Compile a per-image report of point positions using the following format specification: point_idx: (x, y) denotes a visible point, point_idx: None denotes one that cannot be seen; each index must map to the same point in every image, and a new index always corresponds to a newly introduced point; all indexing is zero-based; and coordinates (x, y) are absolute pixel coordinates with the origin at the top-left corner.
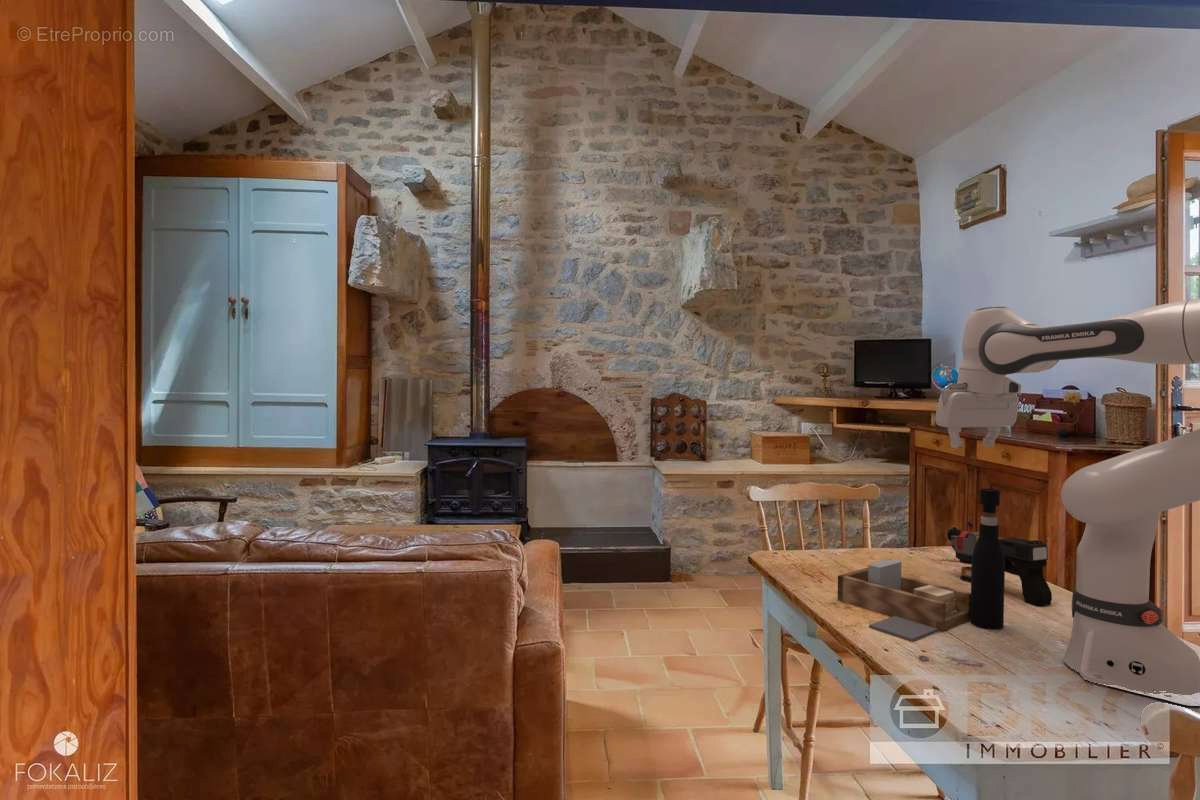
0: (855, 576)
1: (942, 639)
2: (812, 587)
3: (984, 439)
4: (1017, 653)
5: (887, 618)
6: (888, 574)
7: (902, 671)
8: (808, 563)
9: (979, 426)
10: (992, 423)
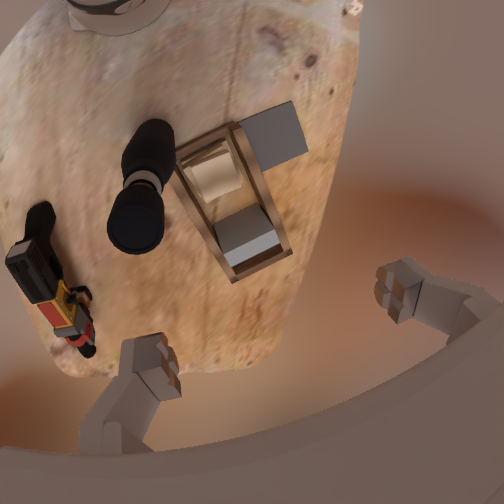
0: (266, 257)
1: (250, 99)
2: (281, 275)
3: (176, 385)
4: (191, 45)
5: (274, 165)
6: (250, 232)
7: (349, 46)
8: (236, 341)
9: (379, 388)
10: (214, 472)
